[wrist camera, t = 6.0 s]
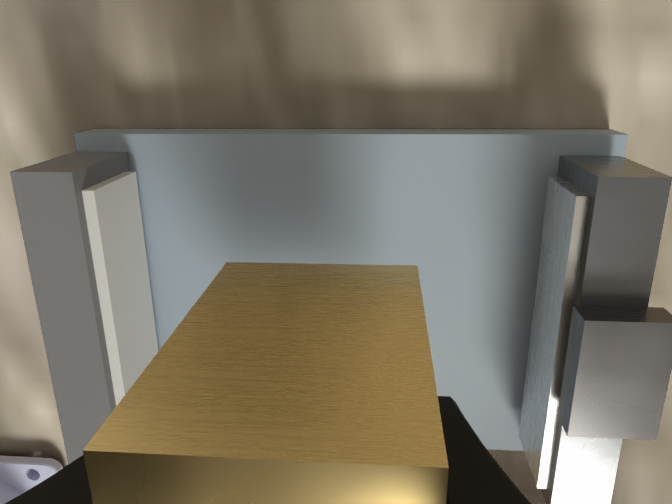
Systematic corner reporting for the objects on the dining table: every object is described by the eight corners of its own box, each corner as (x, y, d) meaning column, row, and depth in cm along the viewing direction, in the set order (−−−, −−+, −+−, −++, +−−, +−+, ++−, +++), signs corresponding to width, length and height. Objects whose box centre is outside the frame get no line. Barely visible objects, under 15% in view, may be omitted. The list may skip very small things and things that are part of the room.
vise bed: (136, 411, 20) (75, 498, 16) (94, 128, 17) (5, 150, 13) (565, 430, 19) (613, 527, 15) (610, 129, 16) (686, 152, 12)
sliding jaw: (514, 443, 18) (546, 535, 14) (547, 155, 15) (597, 184, 11) (585, 446, 17) (634, 540, 14) (633, 155, 14) (710, 185, 11)
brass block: (245, 489, 14) (148, 789, 8) (226, 261, 12) (82, 450, 6) (408, 498, 14) (424, 816, 8) (417, 265, 12) (448, 468, 6)
